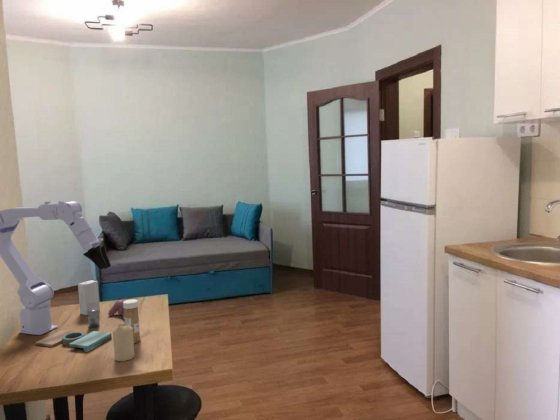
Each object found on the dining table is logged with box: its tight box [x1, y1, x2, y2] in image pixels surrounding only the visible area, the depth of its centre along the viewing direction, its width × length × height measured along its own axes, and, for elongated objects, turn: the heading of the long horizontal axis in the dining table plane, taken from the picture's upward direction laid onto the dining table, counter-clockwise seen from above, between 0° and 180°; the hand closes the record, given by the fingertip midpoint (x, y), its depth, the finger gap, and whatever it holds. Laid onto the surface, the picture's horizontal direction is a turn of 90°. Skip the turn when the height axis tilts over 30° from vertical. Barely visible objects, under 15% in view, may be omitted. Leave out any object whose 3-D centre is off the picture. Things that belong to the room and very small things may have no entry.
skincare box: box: [77, 279, 101, 316], centre depth 177 cm, size 6×4×12 cm
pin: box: [87, 308, 100, 329], centre depth 162 cm, size 4×4×6 cm
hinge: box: [34, 329, 113, 353], centre depth 149 cm, size 21×11×2 cm, turn 72°
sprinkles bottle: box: [123, 298, 141, 344], centre depth 147 cm, size 5×5×14 cm
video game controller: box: [107, 299, 127, 321], centre depth 173 cm, size 10×5×7 cm, turn 58°
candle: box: [112, 322, 135, 362], centre depth 136 cm, size 6×6×10 cm
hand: (106, 267), depth 153 cm, fingers open, 7 cm apart
